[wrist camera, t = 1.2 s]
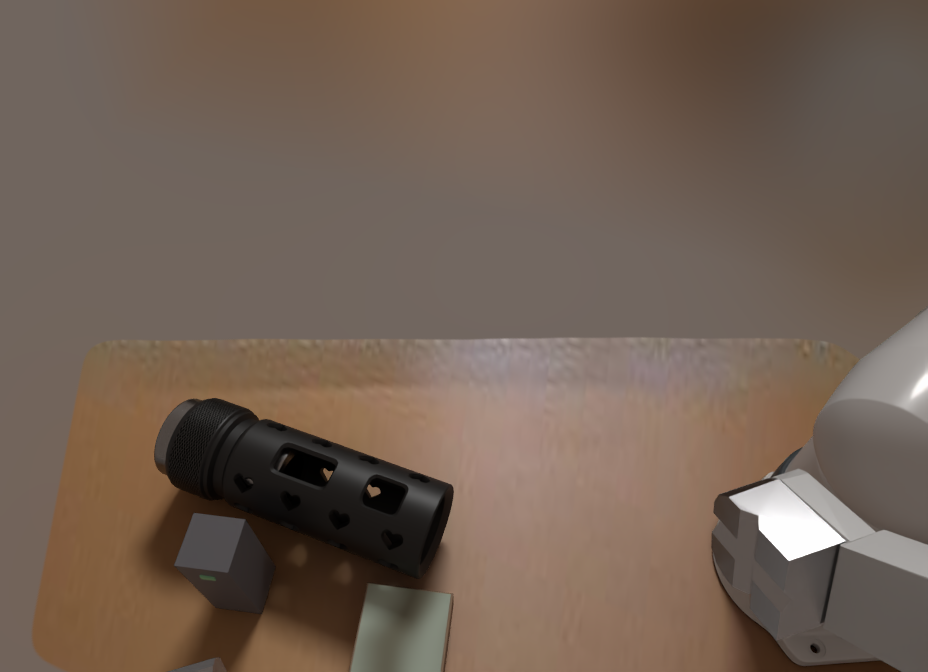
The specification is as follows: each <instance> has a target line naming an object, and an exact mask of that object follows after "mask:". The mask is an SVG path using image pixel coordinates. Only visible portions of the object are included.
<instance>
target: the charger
mask: <svg viewBox="0 0 928 672" xmlns="http://www.w3.org/2000/svg"><path fill="white" fill-rule="evenodd" d="M174 566H175V567H176V568H177V569H178V570H179V571H180V572H181V573H182V574H183V575H184V576H185V577H186V578H187V579H188V580H189V581H190V582H191V583H192V584H193V585H194V586H195V587H196V588H197V589H198V590H199V591H200V592H201V593H202V594H203V595H204V596H205V597H206V598H207V599H208V601H209V602H210V603H211V604H212V605H213V606H214V607H215V608H221V609H228V610H236V611H243V612H250V613H258V614H262V612H263V609H264V605H265V602H266V598H267V595H268V591H269V588H270V584H271V581H272V577H273V574H274V571H275V567H276V566H275V565H274V563H273V562H272V560H271V559H270V557H269V555H268V554H267V552H266V551H265V549H264V548H263V546H262V545H261V543H260V541H259V540H258V538H257V537H256V535H255V534H254V532H253V530H252V529H251V527H250V526H249V524H248V523H247V521H246V519H238V518H231V517H223V516H215V515H207V514H199V513H194V514H193V516H192V519H191V522H190V524H189V527H188V530H187V532H186V535H185V538H184V540H183V543H182V546H181V548H180V551H179V554H178V556H177V559H176V562H175V564H174Z"/></svg>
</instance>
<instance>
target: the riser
mask: <svg viewBox="0 0 928 672" xmlns="http://www.w3.org/2000/svg"><path fill="white" fill-rule="evenodd" d="M452 611H453V594H452V593H445V592H437V591H429V590H422V589H414V588H407V587H399V586H391V585H384V584H376V583H369V582H367V587H366V591H365V596H364V601H363V606H362V611H361V616H360V620H359V625H358V630H357V635H356V640H355V645H354V649H353V654H352V659H351V664H350V669H349V672H445V664H446V657H447V649H448V641H449V634H450V626H451V618H452Z"/></svg>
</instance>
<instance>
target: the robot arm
mask: <svg viewBox="0 0 928 672" xmlns="http://www.w3.org/2000/svg"><path fill="white" fill-rule="evenodd" d="M713 513H714V514H715V515H716V516H717V517H718V518H719V521H718V523H717V526H716V527H715V528H714V530H713V531H712V546H711V547H712V550H713V557H714V562H715V566H716V570H717V573H718V575H719V578H720V580H721V582H722V584H723V586H724V588H725V589H726V591H727V592H728V594H729V595H730V597H731V598H732V600H733V601H734V602H735V603H736V604H737V606H738V607H739V608H740V609H741V610H742V611H743V612H744V613H745V614H747V615H748V616H749V617H750V618H751V619H753V620H754V621H755V622H757V623H758V624H759V625H761V626H762V627H763V628H765V629H766V630H767V631H768V632H769V633H770V634H771V635H772V636H773V637H774V639H775V640H776V641H777V643H778V644H779V646H780V647H781V649H782V650H783V651H784V652H785V654H786V655H787V656H788V657H789V658H790V659H791V660H792V661H793V662H794V663H796V664H798V665H801V666H811V665H825V664H838V663H852V662H865V661H879V660H882V661H883V662H885V663H887V664H889V665H890V666H892V667H894V668H896V669H898V670H899V671H901V672H928V306H927V307H926V308H924V309H923V310H922V311H920V312H919V313H918V314H917V315H916V317H915V318H914V319H913V320H912V321H911V322H909V323H908V324H907V325H905V326H904V327H903V328H902V329H900V330H899V331H897V332H896V333H895V334H894V335H892V336H891V337H890V338H888V339H887V340H886V341H884V342H883V343H882V344H880V345H879V346H878V347H877V348H875V349H874V350H873V351H871V352H870V353H869V354H867V355H866V356H865V357H863V358H862V359H861V360H860V361H859V362H858V363H857V364H856V365H855V366H854V367H853V368H852V369H851V371H850V372H849V373H848V374H847V376H846V377H845V378H844V380H843V381H842V382H841V383H840V385H839V386H838V387H837V389H836V390H835V391H834V393H833V394H832V396H831V397H830V399H829V400H828V402H827V403H826V405H825V406H824V407H823V409H822V410H821V412H820V413H819V415H818V417H817V419H816V421H815V424H814V429H813V436H812V437H811V439H810V440H809V441H808V442H807V443H806V444H805V446H804V447H802V448H800V449H798V450H796V451H795V452H793V453H792V454H791V455H790V456H789V457H787V458H786V459H785V461H784V462H783V463H782V464H781V465H780V466H779V467H778V468H777V470H776V471H775V472H770V473H769V474H767V475H766V476H765V477H764V478H763V479H762V480H761V481H758V482H755V483H752V484H749V485H746V486H743V487H740V488H737V489H734V490H731V491H728V492H725V493H722V494H719V495H718V497H717V498H716V500H715V501H714V511H713ZM811 645H813V646H814V647H815V648H816V649H817V653H814V652H812V650H811V648H810V646H811ZM168 672H227V670H226V668H225V666H224V665H223V663H222V661H221V659H220V657H217V658H212V659H209V660H206V661H202V662H199V663H195V664H192V665H189V666H185V667H182V668H179V669H175V670H172V671H168Z"/></svg>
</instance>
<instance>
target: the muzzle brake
mask: <svg viewBox="0 0 928 672" xmlns="http://www.w3.org/2000/svg"><path fill="white" fill-rule="evenodd" d="M154 460H155V464H156V467H157V468H158V470H159V471H160V472H161V473H162V474H165V475H167V476H168V478H169V480H170V481H171V483H172V484H173V485H174V486H175V487H176V488H179V489H181V490H184V491H186V492H189V493H191V494H194V495H197V496H199V497H202V498H204V499H207V500H222V499H224V498H225V500H226V502H227V503H228V504H229V505H230V506H233V507H235V508H238V509H241V510H243V511H246V512H248V513H251V514H253V515H256V516H258V517H261V518H264V519H266V520H269V521H271V522H274V523H276V524H279V525H281V526H284V527H287V528H289V529H292V530H294V531H297V532H299V533H302V534H304V535H307V536H310V537H312V538H315V539H317V540H320V541H322V542H325V543H327V544H330V545H333V546H335V547H338V548H340V549H343V550H345V551H348V552H350V553H353V554H356V555H358V556H361V557H363V558H366V559H368V560H371V561H373V562H376V563H379V564H381V565H384V566H386V567H389V568H391V569H394V570H396V571H399V572H402V573H404V574H407V575H409V576H412V577H414V578H417V579H419V578H421V577H423V576H424V574H425V573H426V571H427V570H428V568H429V566H430V564H431V562H432V560H433V558H434V556H435V553H436V551H437V549H438V546H439V544H440V541H441V539H442V536H443V533H444V530H445V527H446V524H447V521H448V517H449V514H450V510H451V506H452V501H453V493H454V490H453V486H452V485H451V484H448V483H445V482H442V481H440V480H437V479H434V478H431V477H428V476H426V475H423V474H420V473H417V472H414V471H412V470H409V469H406V468H403V467H400V466H398V465H395V464H392V463H389V462H386V461H384V460H381V459H378V458H375V457H372V456H370V455H367V454H364V453H361V452H358V451H356V450H353V449H350V448H347V447H344V446H342V445H339V444H336V443H333V442H330V441H328V440H325V439H322V438H319V437H316V436H314V435H311V434H308V433H305V432H302V431H300V430H297V429H294V428H291V427H288V426H286V425H283V424H280V423H277V422H274V421H272V420H268V419H263V420H259V419H258V417H257V416H256V415H254V413H253V412H252V411H250V410H249V409H247V408H244V407H241V406H238V405H235V404H233V403H230V402H227V401H224V400H221V399H217V398H212V399H206V400H203V401H202V400H199V399H189V400H186V401H184V402H182V403H181V404H179V405H178V406H177V407H176V408H175V409H174V410H173V411H172V412H171V413H170V414H169V415H168V417H167V418H166V420H165V422H164V423H163V425H162V427H161V429H160V432H159V434H158V437H157V440H156V444H155V451H154ZM324 468H326V469H327V470H328V471H333V473H332V475H331V477H330V479H329V481H328V480H327V478H326V476H325V474H324V472H323V469H324ZM369 484H370V485H371V486H372V487H378V488H379V489H380V491H381V493H380V494H379V495H376V496H374V497H371V495H370V493H369V491H368V490H367V487H368V485H369Z"/></svg>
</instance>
